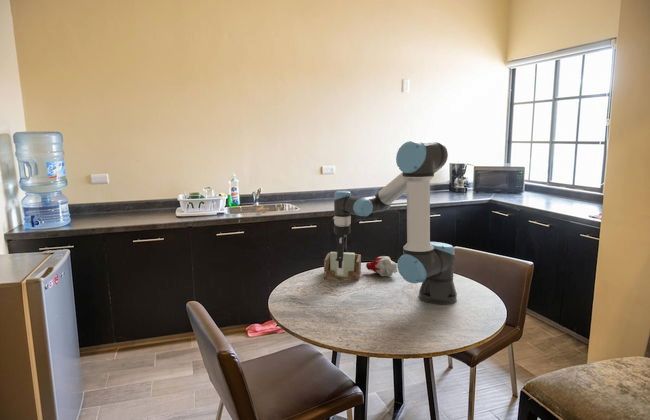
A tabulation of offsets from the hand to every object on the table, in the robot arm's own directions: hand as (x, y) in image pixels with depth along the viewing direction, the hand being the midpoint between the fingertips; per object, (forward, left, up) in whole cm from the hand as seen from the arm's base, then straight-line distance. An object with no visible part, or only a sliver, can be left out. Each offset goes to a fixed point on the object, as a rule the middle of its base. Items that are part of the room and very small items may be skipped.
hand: (342, 270), depth 207 cm
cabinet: (0, -4, -4) cm, 6 cm away
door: (0, -1, -3) cm, 3 cm away
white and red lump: (-18, -9, -4) cm, 21 cm away
